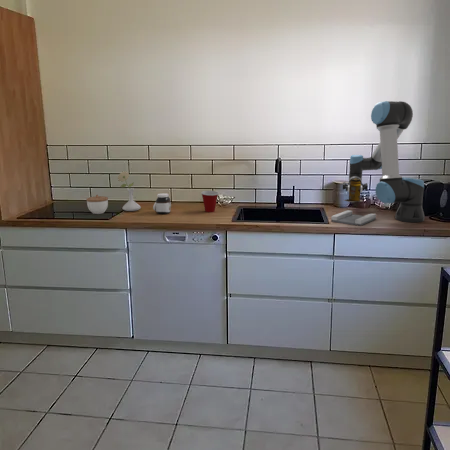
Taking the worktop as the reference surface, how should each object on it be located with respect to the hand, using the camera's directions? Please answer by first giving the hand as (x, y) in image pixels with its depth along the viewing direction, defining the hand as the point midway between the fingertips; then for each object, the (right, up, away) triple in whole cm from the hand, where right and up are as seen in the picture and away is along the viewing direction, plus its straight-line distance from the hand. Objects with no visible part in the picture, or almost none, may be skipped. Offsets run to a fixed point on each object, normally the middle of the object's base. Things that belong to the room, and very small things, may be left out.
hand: (355, 189), depth 246 cm
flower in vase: (-129, -10, +39) cm, 136 cm away
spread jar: (-109, -12, +33) cm, 114 cm away
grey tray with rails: (+1, -16, +8) cm, 18 cm away
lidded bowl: (-148, -12, +34) cm, 152 cm away
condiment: (+1, -6, +7) cm, 9 cm away
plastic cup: (-79, -11, +35) cm, 87 cm away
